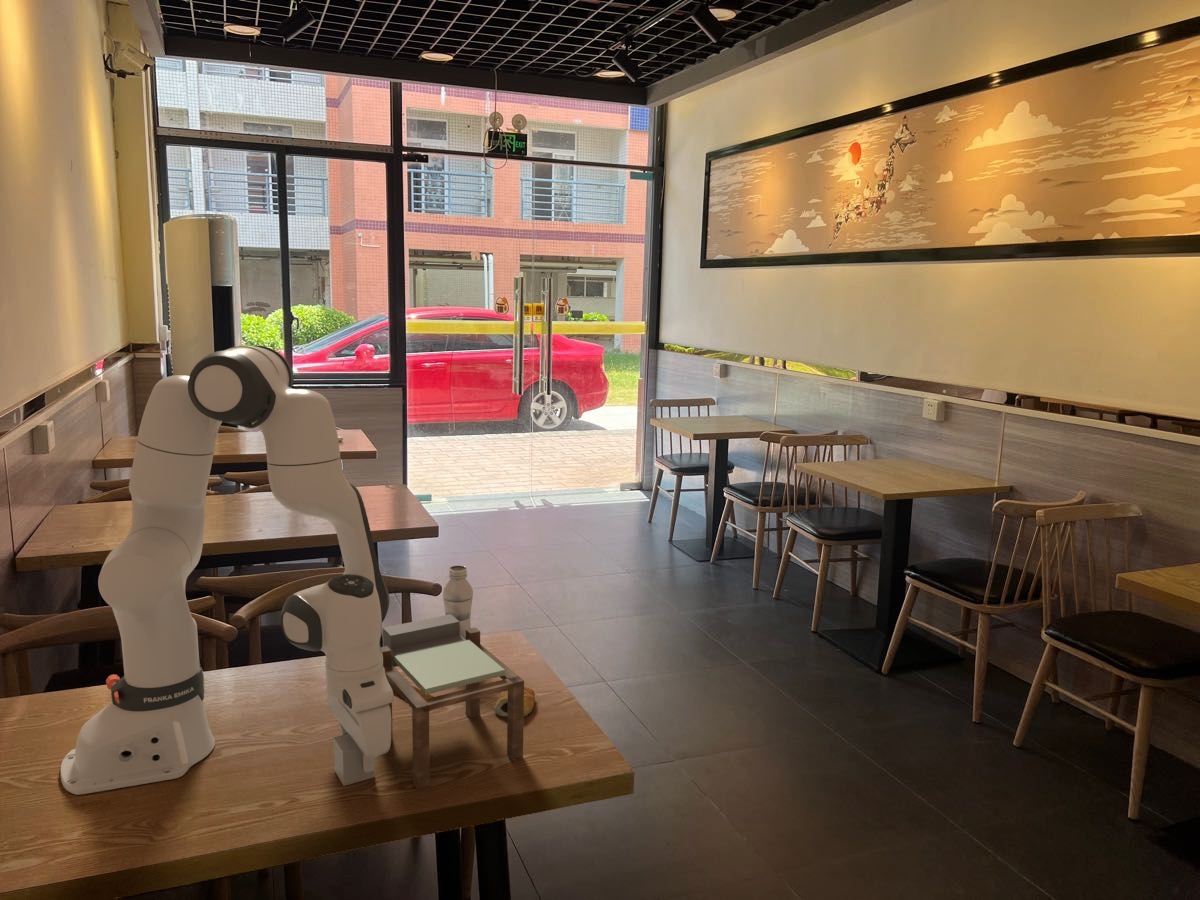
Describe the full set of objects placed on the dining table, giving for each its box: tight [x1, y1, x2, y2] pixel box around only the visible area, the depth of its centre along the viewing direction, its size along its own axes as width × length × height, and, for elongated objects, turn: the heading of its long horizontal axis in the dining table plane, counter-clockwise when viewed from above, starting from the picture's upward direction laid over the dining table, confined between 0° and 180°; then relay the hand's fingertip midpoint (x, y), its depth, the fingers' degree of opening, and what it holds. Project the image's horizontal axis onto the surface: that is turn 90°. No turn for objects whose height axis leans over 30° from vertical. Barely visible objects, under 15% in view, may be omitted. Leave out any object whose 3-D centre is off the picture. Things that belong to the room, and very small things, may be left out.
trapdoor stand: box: [380, 626, 525, 791], centre depth 148 cm, size 19×19×16 cm
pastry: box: [493, 686, 536, 717], centre depth 164 cm, size 9×7×4 cm
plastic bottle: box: [442, 564, 474, 639], centre depth 182 cm, size 6×7×20 cm
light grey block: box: [333, 734, 376, 787], centre depth 140 cm, size 5×5×6 cm
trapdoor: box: [382, 614, 505, 695], centre depth 149 cm, size 14×21×6 cm, turn 33°
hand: (358, 755), depth 140 cm, fingers open, 8 cm apart
